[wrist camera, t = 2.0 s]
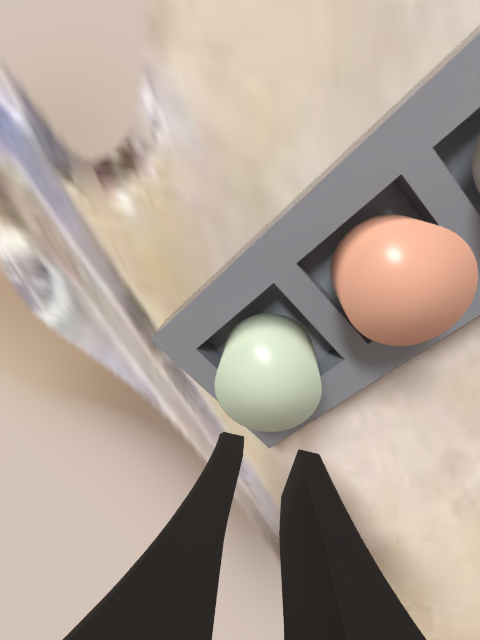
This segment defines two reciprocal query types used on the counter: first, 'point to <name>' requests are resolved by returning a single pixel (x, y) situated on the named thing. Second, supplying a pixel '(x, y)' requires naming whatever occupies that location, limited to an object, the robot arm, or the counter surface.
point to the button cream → (476, 164)
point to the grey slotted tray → (333, 224)
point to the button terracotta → (403, 279)
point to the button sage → (268, 374)
